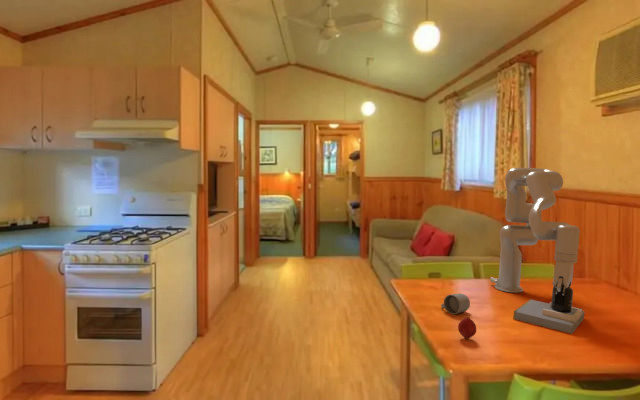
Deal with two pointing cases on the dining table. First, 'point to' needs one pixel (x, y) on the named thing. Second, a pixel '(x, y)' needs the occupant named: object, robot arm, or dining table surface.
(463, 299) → the ceramic mug
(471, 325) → the onion
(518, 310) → the dock
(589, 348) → the dining table surface
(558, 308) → the supplement bottle
